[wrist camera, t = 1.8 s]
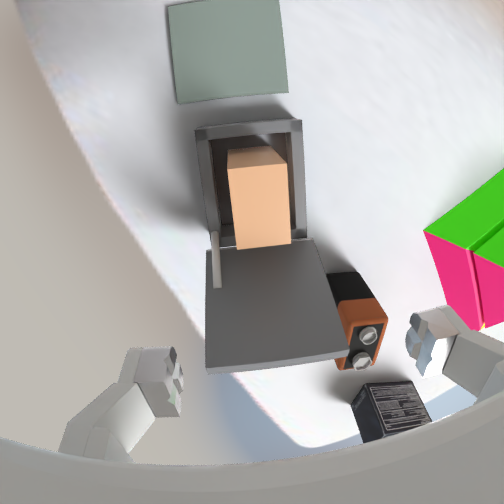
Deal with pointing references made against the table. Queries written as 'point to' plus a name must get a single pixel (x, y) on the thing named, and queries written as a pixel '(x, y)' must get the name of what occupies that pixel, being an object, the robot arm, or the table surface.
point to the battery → (358, 319)
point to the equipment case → (265, 276)
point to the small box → (388, 410)
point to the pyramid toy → (473, 255)
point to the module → (259, 197)
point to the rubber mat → (227, 49)
